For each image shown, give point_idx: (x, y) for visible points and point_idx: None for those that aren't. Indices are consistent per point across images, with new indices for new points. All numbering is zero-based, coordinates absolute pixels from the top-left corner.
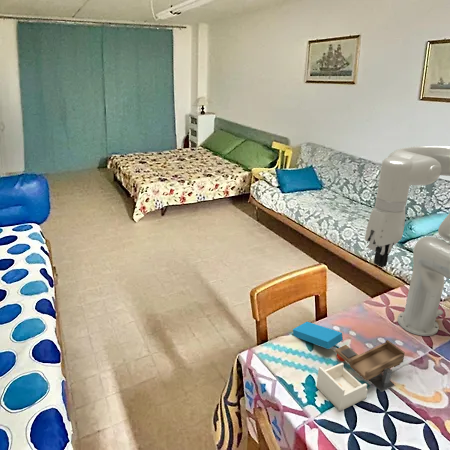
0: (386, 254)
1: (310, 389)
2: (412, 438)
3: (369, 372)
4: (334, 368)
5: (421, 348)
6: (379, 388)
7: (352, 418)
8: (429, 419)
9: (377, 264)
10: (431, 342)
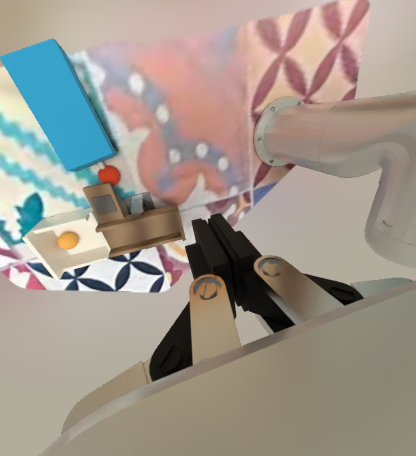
0: (242, 305)
1: (31, 220)
2: (139, 287)
3: (114, 255)
4: (66, 225)
5: (242, 184)
6: None
7: None
8: (170, 272)
9: (196, 241)
10: (263, 177)
